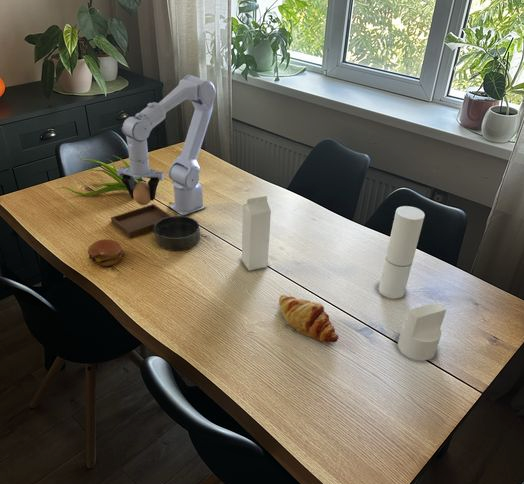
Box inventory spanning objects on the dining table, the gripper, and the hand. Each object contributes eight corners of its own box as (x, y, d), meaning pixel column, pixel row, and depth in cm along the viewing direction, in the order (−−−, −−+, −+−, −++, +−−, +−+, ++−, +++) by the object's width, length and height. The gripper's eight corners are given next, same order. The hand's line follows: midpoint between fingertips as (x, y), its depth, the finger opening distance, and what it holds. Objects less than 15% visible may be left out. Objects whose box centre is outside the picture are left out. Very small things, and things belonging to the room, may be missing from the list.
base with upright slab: (413, 364, 117) (424, 326, 110) (390, 340, 124) (400, 302, 117) (443, 354, 120) (456, 317, 113) (419, 331, 127) (430, 294, 120)
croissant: (271, 316, 134) (261, 301, 128) (296, 290, 136) (287, 274, 130) (327, 360, 121) (319, 345, 115) (354, 331, 123) (347, 315, 117)
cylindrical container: (405, 286, 142) (425, 209, 128) (402, 301, 137) (423, 221, 123) (380, 281, 144) (397, 204, 130) (376, 294, 139) (394, 216, 124)
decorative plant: (83, 177, 192) (76, 140, 184) (150, 191, 184) (146, 153, 176) (51, 195, 178) (43, 156, 170) (122, 212, 171) (117, 172, 162)
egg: (152, 208, 158) (150, 185, 154) (133, 208, 158) (130, 185, 153) (154, 200, 163) (152, 177, 159) (135, 199, 163) (132, 177, 158)
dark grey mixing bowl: (183, 223, 166) (183, 211, 164) (208, 241, 158) (208, 229, 155) (146, 236, 158) (144, 224, 156) (170, 256, 150) (169, 243, 147)
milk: (267, 267, 148) (272, 200, 135) (248, 271, 145) (251, 204, 133) (259, 256, 152) (263, 191, 139) (241, 260, 150) (243, 194, 137)
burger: (119, 246, 153) (117, 233, 150) (126, 262, 146) (124, 249, 143) (86, 253, 149) (84, 240, 147) (91, 269, 142) (89, 256, 140)
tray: (154, 209, 174) (153, 203, 172) (173, 223, 166) (173, 217, 165) (111, 222, 165) (110, 217, 163) (129, 238, 157) (129, 232, 156)
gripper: (110, 160, 149) (116, 201, 157) (157, 165, 147) (161, 206, 155) (119, 151, 155) (124, 191, 162) (164, 156, 153) (167, 196, 161)
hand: (143, 198), depth 159 cm, fingers closed on egg, 6 cm apart
